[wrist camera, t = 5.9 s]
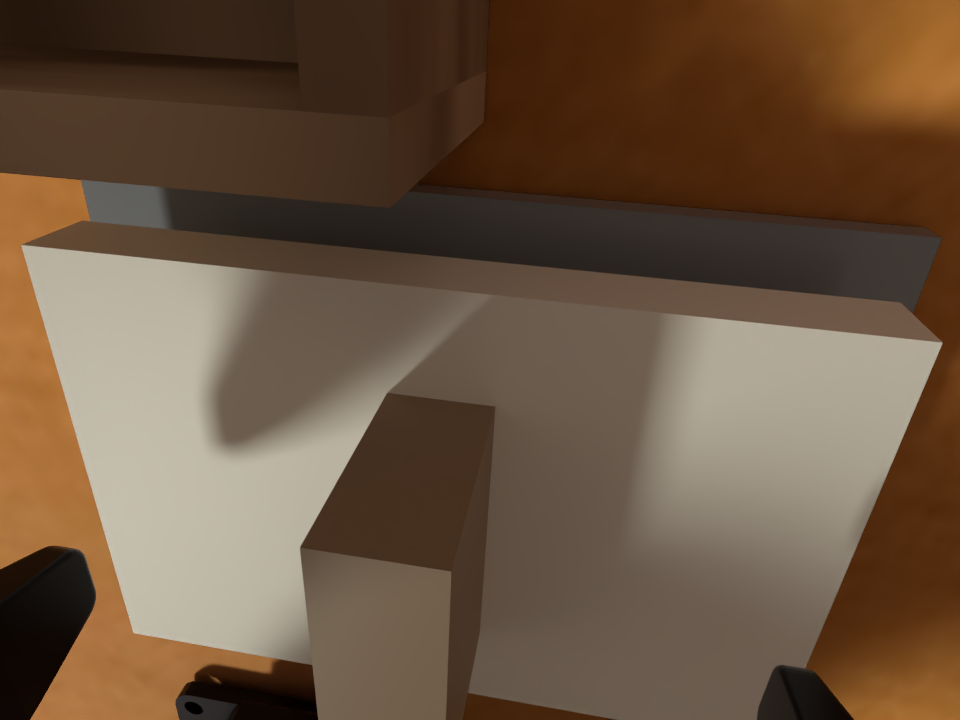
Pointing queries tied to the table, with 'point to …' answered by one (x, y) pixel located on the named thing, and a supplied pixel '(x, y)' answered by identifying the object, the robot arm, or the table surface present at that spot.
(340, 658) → the lid
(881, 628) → the table surface
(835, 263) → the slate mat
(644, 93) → the table surface
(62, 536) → the table surface
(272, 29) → the box
